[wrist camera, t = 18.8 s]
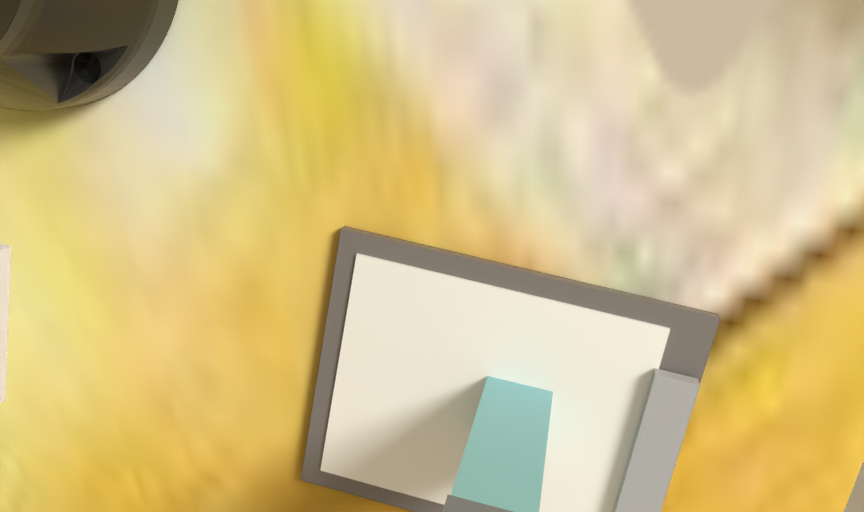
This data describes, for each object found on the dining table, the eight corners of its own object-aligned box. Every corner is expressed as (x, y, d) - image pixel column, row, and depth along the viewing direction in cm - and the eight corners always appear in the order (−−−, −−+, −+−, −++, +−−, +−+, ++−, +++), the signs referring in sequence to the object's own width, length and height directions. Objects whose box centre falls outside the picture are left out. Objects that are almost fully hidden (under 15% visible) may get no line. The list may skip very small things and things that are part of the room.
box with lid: (472, 435, 41) (420, 609, 29) (486, 373, 40) (437, 526, 28) (540, 452, 41) (516, 636, 28) (555, 390, 40) (537, 553, 27)
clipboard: (304, 474, 44) (294, 490, 43) (344, 226, 40) (334, 233, 39) (639, 567, 42) (641, 587, 41) (718, 314, 38) (723, 325, 36)
